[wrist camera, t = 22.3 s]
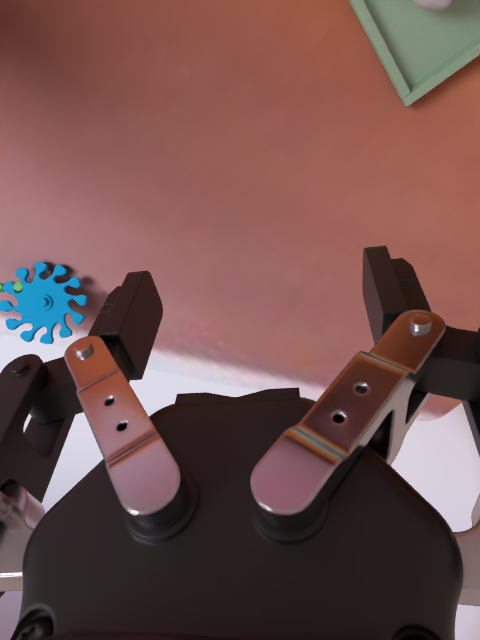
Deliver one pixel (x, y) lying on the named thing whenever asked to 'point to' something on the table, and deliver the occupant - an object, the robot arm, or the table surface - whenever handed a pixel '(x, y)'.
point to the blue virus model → (42, 302)
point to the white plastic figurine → (433, 4)
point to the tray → (420, 41)
